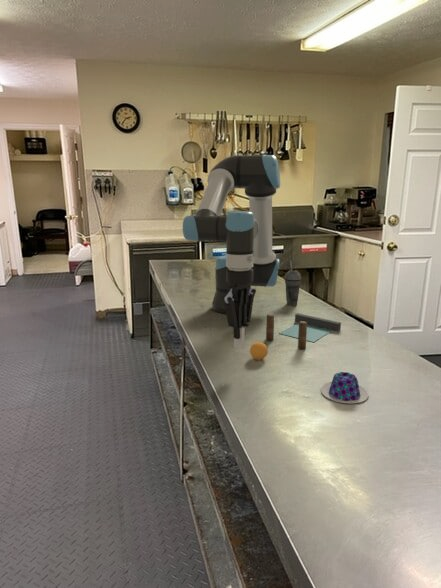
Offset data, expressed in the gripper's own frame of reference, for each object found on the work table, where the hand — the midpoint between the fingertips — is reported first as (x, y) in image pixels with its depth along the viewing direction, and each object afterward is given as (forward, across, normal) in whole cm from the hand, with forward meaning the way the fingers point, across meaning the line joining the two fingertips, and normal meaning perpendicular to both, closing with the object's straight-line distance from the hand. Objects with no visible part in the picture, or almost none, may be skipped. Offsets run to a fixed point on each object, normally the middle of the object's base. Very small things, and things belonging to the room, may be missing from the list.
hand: (239, 347), depth 125 cm
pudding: (+8, +6, -30) cm, 31 cm away
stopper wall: (+7, +49, 0) cm, 50 cm away
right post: (+7, +26, -6) cm, 28 cm away
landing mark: (+7, +40, 0) cm, 41 cm away
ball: (+4, +10, 0) cm, 11 cm away
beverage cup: (+6, +68, +22) cm, 72 cm away
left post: (+7, +26, +6) cm, 28 cm away
